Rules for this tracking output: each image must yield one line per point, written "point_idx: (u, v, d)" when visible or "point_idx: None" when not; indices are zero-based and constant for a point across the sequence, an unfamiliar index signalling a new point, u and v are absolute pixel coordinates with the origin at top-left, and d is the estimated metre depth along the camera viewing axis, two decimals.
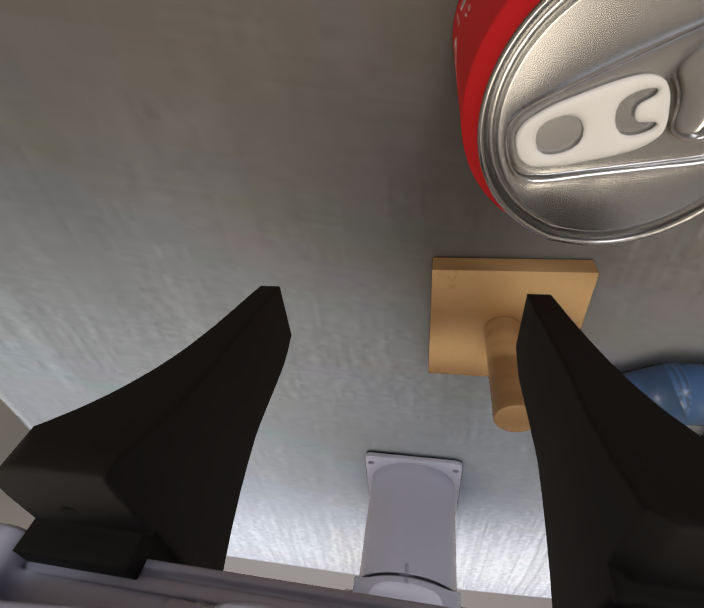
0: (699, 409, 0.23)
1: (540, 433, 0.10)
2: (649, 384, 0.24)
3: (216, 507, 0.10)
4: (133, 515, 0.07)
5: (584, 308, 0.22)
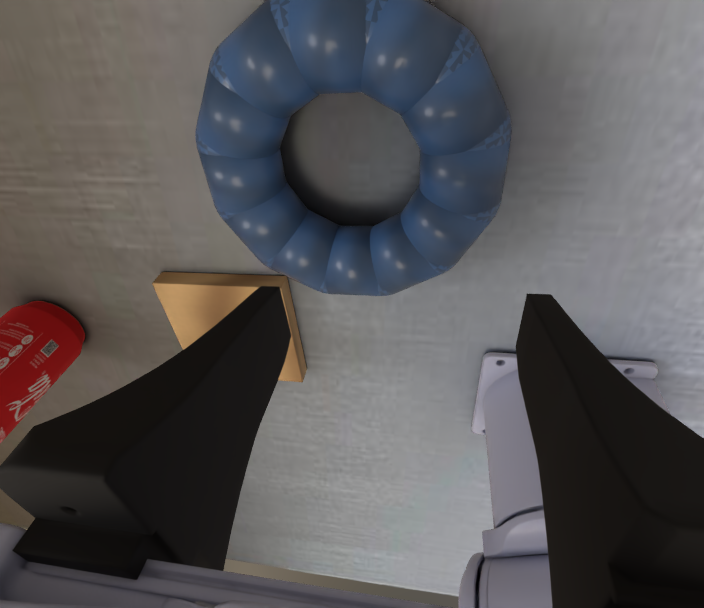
0: (224, 202, 0.18)
1: (540, 433, 0.10)
2: None
3: (216, 507, 0.10)
4: (133, 515, 0.07)
5: (187, 286, 0.25)
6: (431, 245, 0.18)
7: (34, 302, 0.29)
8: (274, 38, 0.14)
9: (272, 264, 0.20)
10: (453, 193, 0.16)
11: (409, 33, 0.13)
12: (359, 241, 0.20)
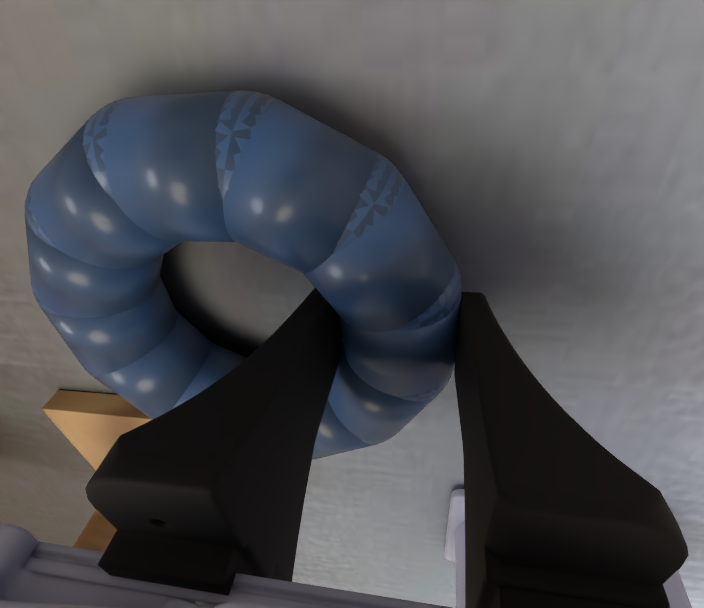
0: (83, 360, 0.14)
1: (464, 427, 0.11)
2: None
3: (287, 516, 0.09)
4: (230, 529, 0.07)
5: (83, 414, 0.20)
6: (360, 422, 0.13)
7: None
8: (90, 184, 0.09)
9: None
10: (381, 373, 0.12)
11: (286, 185, 0.09)
12: None
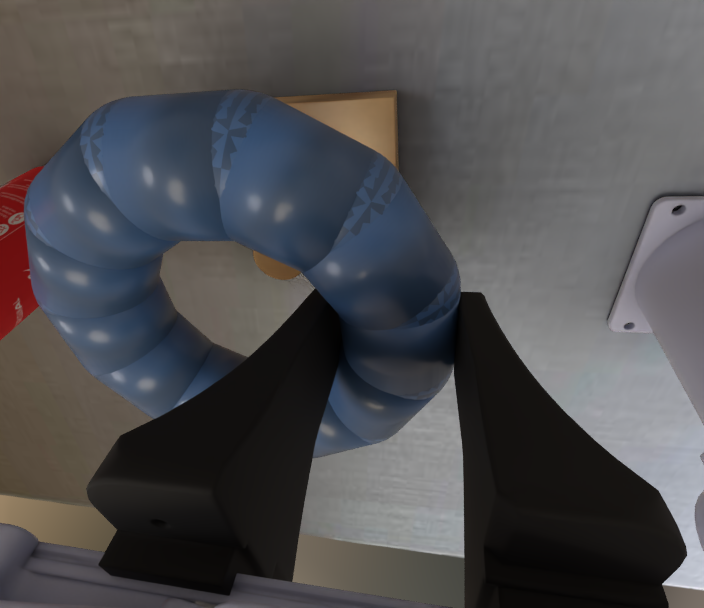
0: (84, 360, 0.14)
1: (464, 427, 0.11)
2: None
3: (288, 516, 0.09)
4: (232, 529, 0.07)
5: None
6: (360, 421, 0.13)
7: None
8: (87, 184, 0.09)
9: None
10: (380, 371, 0.12)
11: (283, 184, 0.09)
12: None
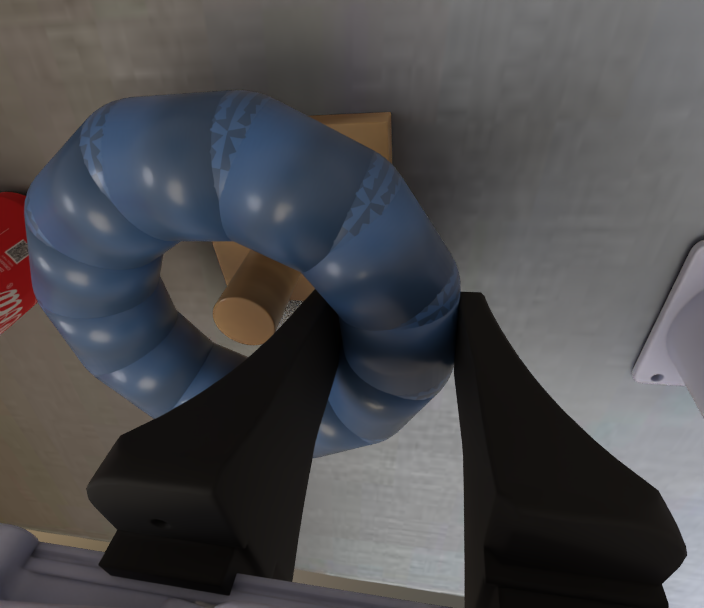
0: (84, 360, 0.14)
1: (464, 427, 0.11)
2: None
3: (288, 516, 0.09)
4: (232, 529, 0.07)
5: None
6: (360, 421, 0.13)
7: (0, 193, 0.20)
8: (87, 185, 0.09)
9: None
10: (380, 371, 0.12)
11: (282, 184, 0.09)
12: None
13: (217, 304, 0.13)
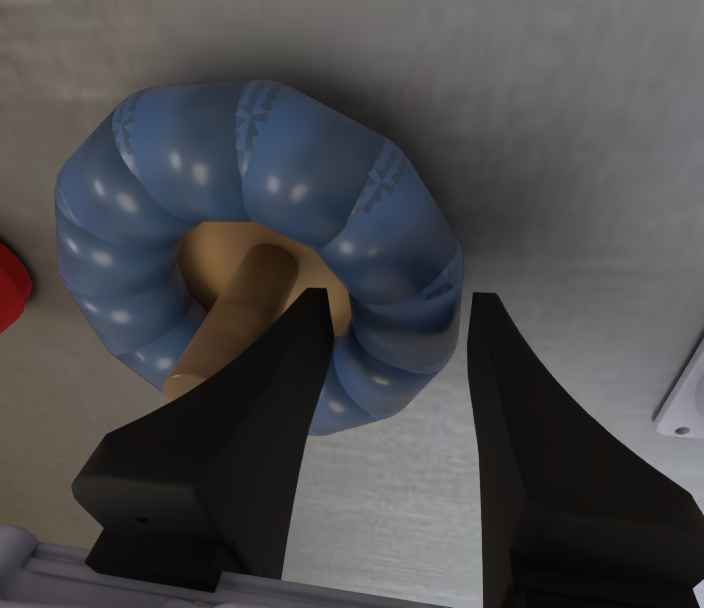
0: (105, 340, 0.14)
1: (480, 428, 0.11)
2: None
3: (276, 515, 0.09)
4: (215, 527, 0.07)
5: None
6: (369, 396, 0.14)
7: None
8: (118, 167, 0.10)
9: None
10: (388, 346, 0.12)
11: (301, 165, 0.09)
12: None
13: (167, 381, 0.11)
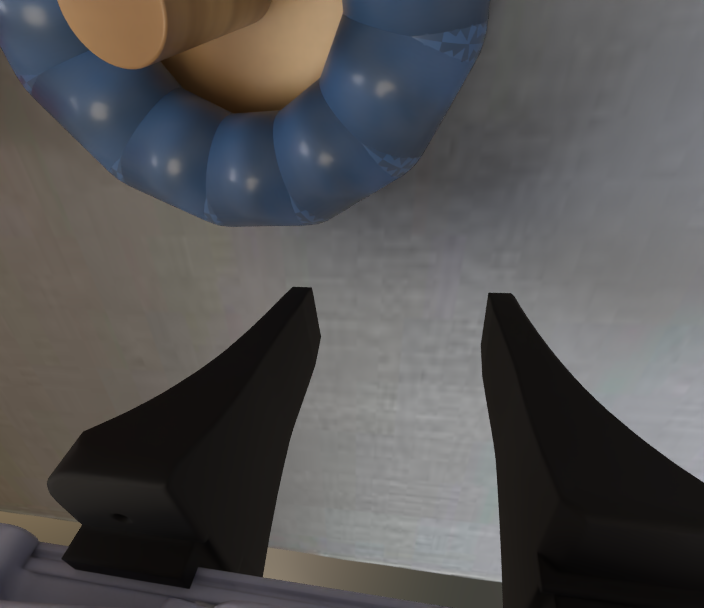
0: (15, 55, 0.11)
1: (497, 429, 0.10)
2: None
3: (257, 512, 0.10)
4: (189, 523, 0.07)
5: None
6: (366, 112, 0.10)
7: None
8: None
9: (122, 173, 0.12)
10: None
11: None
12: (257, 127, 0.12)
13: None
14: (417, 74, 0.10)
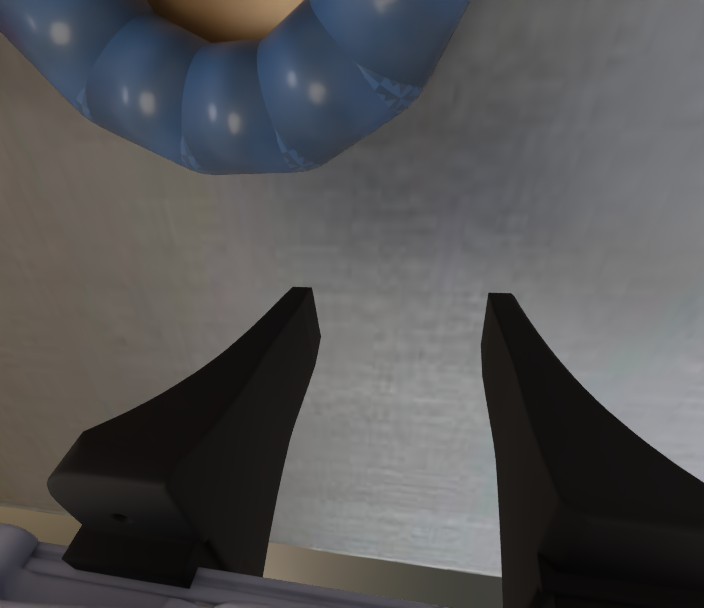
0: None
1: (497, 429, 0.10)
2: None
3: (257, 512, 0.10)
4: (189, 522, 0.07)
5: None
6: (361, 23, 0.09)
7: None
8: None
9: (88, 107, 0.11)
10: None
11: None
12: (239, 53, 0.11)
13: None
14: None
